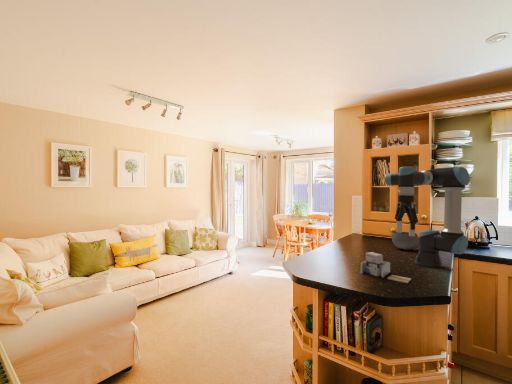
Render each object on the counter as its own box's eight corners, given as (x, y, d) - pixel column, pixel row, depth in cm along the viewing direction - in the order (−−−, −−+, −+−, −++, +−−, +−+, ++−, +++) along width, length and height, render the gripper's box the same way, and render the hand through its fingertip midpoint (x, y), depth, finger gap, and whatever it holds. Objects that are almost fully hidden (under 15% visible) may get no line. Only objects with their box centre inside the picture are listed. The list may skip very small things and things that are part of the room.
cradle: (368, 268, 168) (368, 258, 168) (390, 272, 160) (390, 262, 160) (360, 273, 157) (360, 262, 157) (383, 277, 149) (383, 266, 149)
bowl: (422, 250, 232) (423, 233, 232) (411, 252, 220) (411, 234, 221) (399, 246, 249) (399, 230, 249) (386, 248, 237) (387, 231, 238)
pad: (391, 275, 153) (391, 274, 153) (411, 279, 147) (411, 278, 147) (387, 279, 146) (387, 278, 146) (407, 283, 140) (407, 282, 140)
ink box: (364, 272, 159) (365, 252, 159) (371, 271, 161) (371, 251, 161) (376, 276, 151) (376, 255, 151) (383, 275, 153) (383, 254, 153)
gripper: (388, 195, 159) (388, 231, 159) (411, 194, 134) (410, 237, 134) (401, 195, 159) (401, 231, 158) (426, 195, 134) (425, 237, 133)
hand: (405, 234), depth 146 cm, fingers open, 13 cm apart
